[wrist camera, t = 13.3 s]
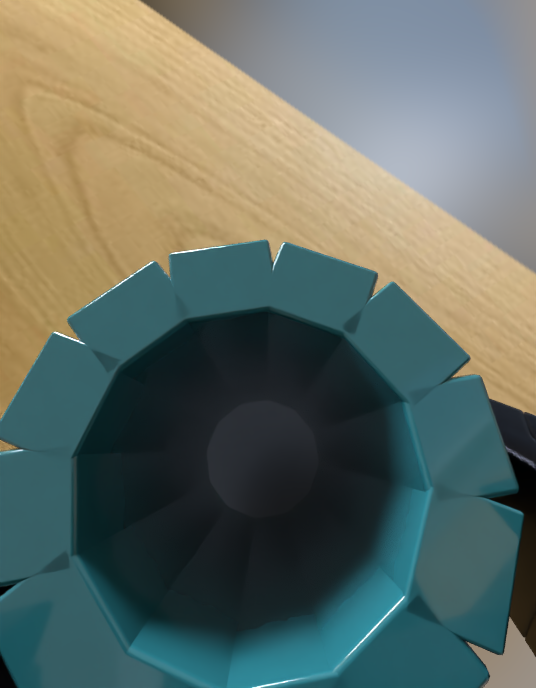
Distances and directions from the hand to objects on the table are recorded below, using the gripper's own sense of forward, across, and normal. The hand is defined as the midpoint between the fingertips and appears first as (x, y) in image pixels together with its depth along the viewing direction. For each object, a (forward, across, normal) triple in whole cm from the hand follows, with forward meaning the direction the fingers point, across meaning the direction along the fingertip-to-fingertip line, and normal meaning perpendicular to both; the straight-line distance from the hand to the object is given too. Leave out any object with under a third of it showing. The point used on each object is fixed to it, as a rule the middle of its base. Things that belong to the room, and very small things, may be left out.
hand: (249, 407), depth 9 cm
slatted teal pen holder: (+3, 0, +5) cm, 6 cm away
